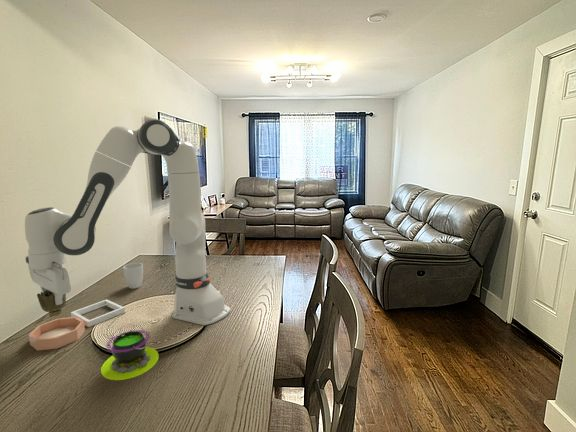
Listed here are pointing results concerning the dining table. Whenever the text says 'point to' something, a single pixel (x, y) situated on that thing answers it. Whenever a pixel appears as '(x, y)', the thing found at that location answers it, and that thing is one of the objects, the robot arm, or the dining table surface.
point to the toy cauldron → (129, 356)
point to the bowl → (56, 333)
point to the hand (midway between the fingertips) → (53, 300)
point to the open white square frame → (89, 323)
